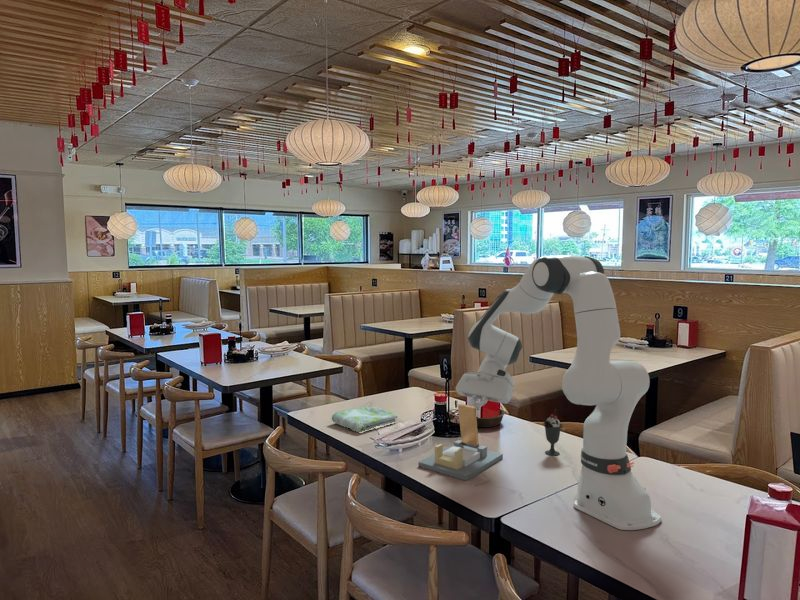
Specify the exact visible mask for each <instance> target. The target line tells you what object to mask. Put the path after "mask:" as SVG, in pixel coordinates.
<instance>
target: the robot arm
mask: <svg viewBox="0 0 800 600" xmlns="http://www.w3.org/2000/svg"><path fill="white" fill-rule="evenodd" d="M603 266H604V265H602V263H601V262H600V261H599V260H598V259H596V258H594V257H591V256H579V255H571V254H561V255H560V254H558V255H552V254H551V255H546V256H539V257H538V258H535V259H534V260H533V262H531V264H530V265H529V266H528V268H526V271H525V272H524V274H523V275H522V277H521V278H520V281H519V282H518V283H517V285H515V286H514V287H512V288H507V289H504V290H503V291H502V292H501V293H500V294H499V295H497V297H496V299H495V300H494V301H493V302H492V303H491V304H490V305H489V307H488V308H487V310H486V311H485V312H484V314H483V315H482V316H481V317H480V318H479V319H478V321H477V322H476V323H474V324H473V326H472V327H471V328H470V330H469V332H468V335H467V339H468V342H469V344H470V346H471V348H473V349H475V350H479V351H481V352H483V353H485V357H484V358H483V360H482V362H481V363H480V366H479V367H478V369H477V372H472V371H467V372H465V373H463V374H462V376H461V378H460V379H459V381H458V382H457V384H456V386H455V391H456V394H458V395H459V396H461V397H467V398H471V401H472V403H471V405H470V406H474V407H475V409H477V410H480V409H481V407H482V406H486V404H487V403H488V401H490V402H493V403H494V402H495V403H501V404H504V405H505V404H508V403H510V401H511V399H512V395H513V392H514V386H515V381H514V379H513V377H512V376H511V374H510V373H509V372H508V371H506V368H507V367H508V366H510V365H513V364H515V363H516V362H517V361H518V358H519V355H520V352H521V350H522V348H523V344H522V340H521V339H520V338H519V337H518V336H517V335H515V334H512V333H510V332H508V331H506V330H503V329H501V328H499V327H497V326H495V325H493V323H494V322H495V321H496V319H497V318H498V317H499V316H500V315H501V314H503V313H517V314H524V315H533V314H537V313H539V312H542V311H543V310H544V309H545V308H546V307H547V306H548V304H549V302H550V301H551V299H552V298H553V296H554V295H555V294H556V295H562V294H567V295H568V296H570V297H571V299H572V302H573V303H572V304H573V313H574V319H575V321H574V322H575V328H576V339H577V340H576V342H577V344H576V351H575V356H574V358H573V361H572V363H571V365H570V366H569V368H568V369H566V371H565V372H564V374H563V377H562V379H561V388H562V392H563V394H564V396H565V397H566V399H567V400H568V401H569V402H570V403H572V404H575V405H581V406H595V407H594V409H593V411H592V412H591V413H590V414H589V416H587V418H585V421H584V422H583V427H582V428H583V431H582V432H583V434H582V436H583V437H582V439H583V440H582V448H581V452H580V453H581V454H580V463H581V464H582V465H581V470H580V474H579V478H578V484H577V491H576V495H575V500H574V502H573V507H574V508H575V509H577V510H579V511H581V512H582V513H585V514H587V515H589V516H591V517H593V518H594V519H597V520H599V521H601V522H603V523H605V524H607V525H609V526H612V527H614V528H616V529H618V530H621V531H622V530H623V531H635V530H636V531H637V530H638V531H639V530H643V529H649V528H651V527H655V526H658V525H659V524H660V523H661V522H662V516H661V515H660V514H659V513H657V512H656V511H655V510H653V509H652V503H651V502H652V501H651V497H650V495H649V492H648V491H647V489H646V486H644V485H642V484H641V483H640V481H639V480H638V478H637V477H636V476H635V474H634V473H633V472H632V468H633V467H634V464H635V462H634V461H632V462H630V459H629V455H628V454H627V443H628V430H629V424H630V420H631V417H632V415H633V412H634V411H635V407H636V405H637V404H638V402H639V401H640V400H641V398H642V397H643V396H644V395H646V393H647V392H648V390H649V388H650V383H651V382H650V381H651V380H650V375H649V372H648V371H647V369H646V367H644V365H642V363H640V362H638V361H637V362H636V361H631V360H623V359H621V360H620V359H619V360H612V361H611V359H610V357H611V353H612V352H611V351H612V349H613V347H614V346H615V345H616V344H617V343H618V342H619V341H620V339H621V336H622V335H621V333H622V332H621V328H620V321H619V314H618V309H617V304H616V298H615V295H614V292H613V288H612V286H611V283H610V280H609V278H608V277H607V275H606V274H605V270H604V269H605V268H604V267H603ZM479 400H480V401H479ZM477 401H479V402H477Z"/></svg>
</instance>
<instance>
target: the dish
mask: <svg viewBox="0 0 800 600" xmlns="http://www.w3.org/2000/svg"><path fill="white" fill-rule="evenodd" d="M499 409H500V414H499V416H496V417H489V418H478V417H476V419H477V428H491V427H495V426H498V425H500V424H501V423H502V421H503V417H504V415H505V414H506V413H505V410H503V409H502V408H499Z"/></svg>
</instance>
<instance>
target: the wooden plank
mask: <svg viewBox="0 0 800 600" xmlns="http://www.w3.org/2000/svg"><path fill="white" fill-rule="evenodd" d="M457 407H458V409H457V410H458V418H459V419H458V420H459V427H460V428H459V429H460V440H461V441H462V443H461V444H462V445H464V446H468V447H472V448H476V449H477V448H478V447H480V444H479V443H480V442H479V430H478V427H477V419H476V409H475V407H474V406H471V405H470V404H469V405H467V404H464V403H459V404H458V405H457Z"/></svg>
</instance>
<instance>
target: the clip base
mask: <svg viewBox="0 0 800 600" xmlns="http://www.w3.org/2000/svg"><path fill="white" fill-rule="evenodd" d="M461 443H462V441H461V439H458V440H456V441H453V444H452V445H450V446H448V447H446V448H444V447H443V446H444V445H443V443H439V444H437V445H434V454H432V455H429V456H427V457H426V458H424V459H422V460H419V461H417V462H418V467H419V466H421V467H420V468H422V467H424V468H423V469H425V468H427V469H426V470H429V471H432V470H433V472H435V471H436V473H438V472H439V474H442V475H445V474H446V475H445V476H448V475H449V476H450V477H453V478H456V479H459V480H462V481H469V479H471V478H473V477H474V476H476V475H478V474H479V473H481V472H483V471H484V470H486V469H487V468H489V467H491V466H493V465H495V464H496V463H498V462H499V461H501V460H502V459H504V457H503V455H504V454H503V453H501V452H496V451H492V450H488V446H485V445H481V446H480V445H479V447H478V448H477V449H476V448H472V447H468V446H464V445H462V444H461Z"/></svg>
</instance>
